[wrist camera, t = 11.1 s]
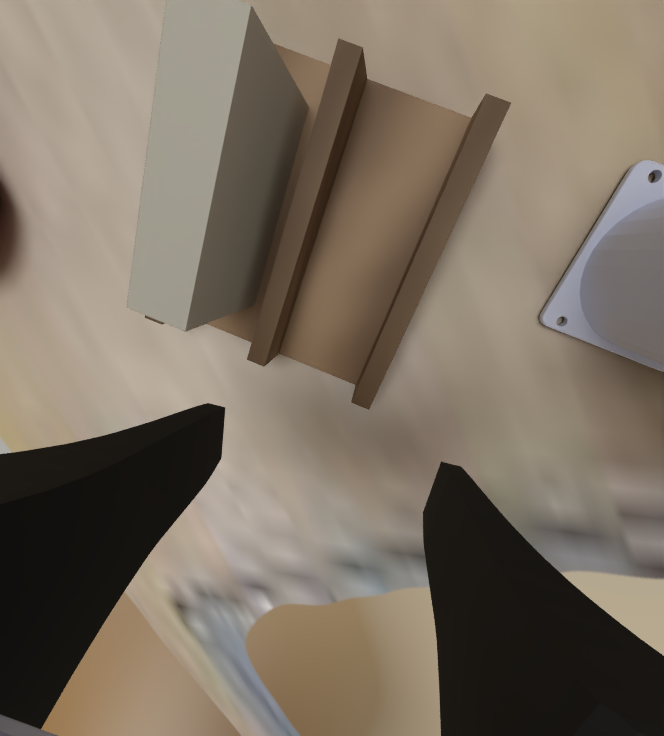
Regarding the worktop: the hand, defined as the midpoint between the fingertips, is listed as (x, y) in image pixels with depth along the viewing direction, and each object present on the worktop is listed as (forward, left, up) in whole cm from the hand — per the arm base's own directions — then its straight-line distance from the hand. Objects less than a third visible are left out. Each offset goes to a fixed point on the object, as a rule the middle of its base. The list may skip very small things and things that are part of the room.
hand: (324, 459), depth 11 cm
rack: (+5, -6, -10) cm, 13 cm away
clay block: (+8, -6, -9) cm, 14 cm away
